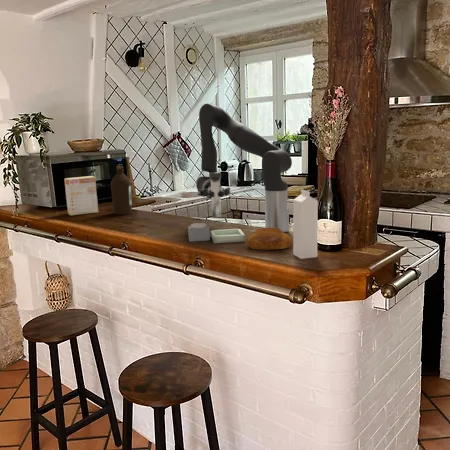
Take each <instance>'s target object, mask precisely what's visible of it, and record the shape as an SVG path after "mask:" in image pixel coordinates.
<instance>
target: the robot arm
mask: <svg viewBox="0 0 450 450" xmlns="http://www.w3.org/2000/svg"><path fill="white" fill-rule="evenodd" d="M198 120H199V122H198V123H199V130H200V131H199V132H200V140H201V165H200V166H201V168H200V169H201V170H202V171H203V172H207V173H208V174H209V173H214V172H218V166H217V164H218V151H217V146H216V143H215V139H214V137H213V127H214V128H217V129H219V130H220V131H222V132H224V133H225V135H227V137H228V138H229V140H230V141H231V143H233V144H234V145H235V146H236V147H238V148H239V149H241V150H242V151H244V152H246V153H249V154H251V155H255V156H258V157H260V158H262V160H261V171H262V172H261V173H262V174H261V175H262V183H263V185H264V208H265V209H264V210H265V212H264V214H265V216H264V219H265V220H264V221H265V226H264V228H277V229H280V230H282V231H283V233H286V232H290V209H289V207H288V182H286V181H284V180H283V179H282V173H285V172H287V171H288V170H290V169H291V167H292V166H293V159H292V157H291V155H290V154H289V152H287V151H286V150H284V149H282V148H280V147H278V146H277V145H274V144H273V143H272V142H269V141H268V140H267V139H265V138H264V137H263V136H261V135H260V134H258V133H257V132H255V131H254V130H253V129H251V128H250V127H248V126H247V125H245V124H243V123H242V122H240V121H239V120H236V119H235V118H233V117H232V116H231V115H230V114H229V113H228V112H227V111H225V110H224V108H222V107H220V106H218V105H214V104H212V103H204V104H203V105H201V107H200V109H199V112H198ZM195 183H196V184H195V185H196V190H197V196H199V197H204V198H205V197H207V199H210V200H211V197H212V191H211V179H209V176H200V177H198V178H197V179H196V182H195ZM230 194H231V187H229V186H228V187H226V188H224V187H222V185H221V184H220V197H221V198H223V197H225V196H229V195H230Z"/></svg>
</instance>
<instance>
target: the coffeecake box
mask: <svg viewBox="0 0 450 450" xmlns="http://www.w3.org/2000/svg"><path fill="white" fill-rule="evenodd" d="M64 188H65V190H64V191H65V199H66V208H67V214H68V215H69V216H79V215H84V214H85V215H87V214H95V213H99V205H98V195H97V184H96V176H93V175H87V176H77V177H66V178H64Z"/></svg>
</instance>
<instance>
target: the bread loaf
mask: <svg viewBox="0 0 450 450" xmlns="http://www.w3.org/2000/svg"><path fill="white" fill-rule="evenodd" d="M246 243H247V245H248V246H249V248H250V249H252V250H263V251H265V250H268V251H270V250H284V249H288V248H290V247H291V244H292V238H291V236H290V235H289V234H288V233H286V232H283V231H282V230H280V229H277V228H265V227H261V228H258V229H256V230H255V231H254V233H252V234H251V235H250V236H248V238H247V240H246Z"/></svg>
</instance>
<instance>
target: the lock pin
mask: <svg viewBox="0 0 450 450" xmlns="http://www.w3.org/2000/svg"><path fill="white" fill-rule="evenodd" d="M208 177H209V179H211V191H212V197H211V199H210V201H211V217H212V218H221V217H222V207H221V206H222V205H221V203H222V202H221V198H222V197H221V196H220V185H221V179H222V173H221V172H218V171H217V172H214V173H209V172H208Z"/></svg>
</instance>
